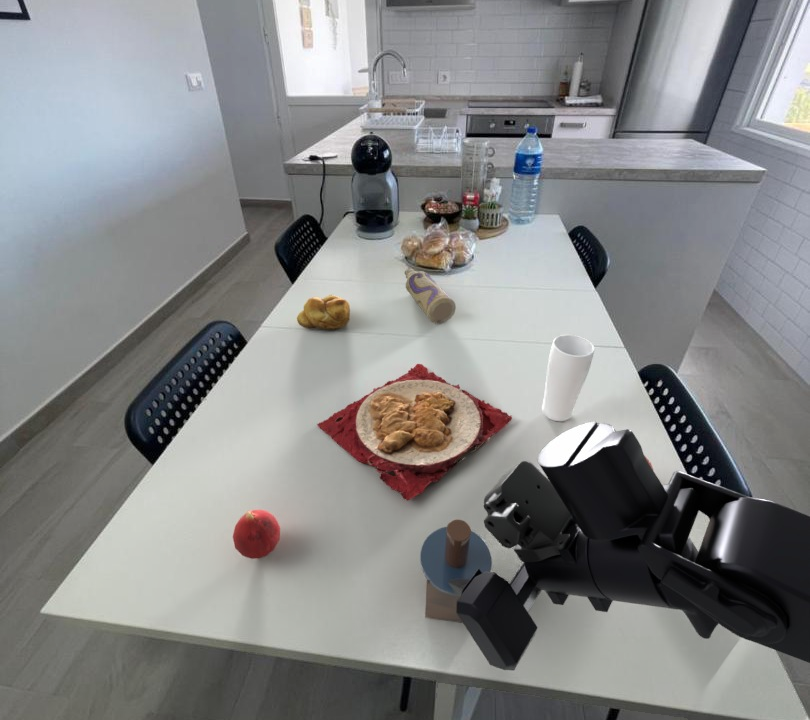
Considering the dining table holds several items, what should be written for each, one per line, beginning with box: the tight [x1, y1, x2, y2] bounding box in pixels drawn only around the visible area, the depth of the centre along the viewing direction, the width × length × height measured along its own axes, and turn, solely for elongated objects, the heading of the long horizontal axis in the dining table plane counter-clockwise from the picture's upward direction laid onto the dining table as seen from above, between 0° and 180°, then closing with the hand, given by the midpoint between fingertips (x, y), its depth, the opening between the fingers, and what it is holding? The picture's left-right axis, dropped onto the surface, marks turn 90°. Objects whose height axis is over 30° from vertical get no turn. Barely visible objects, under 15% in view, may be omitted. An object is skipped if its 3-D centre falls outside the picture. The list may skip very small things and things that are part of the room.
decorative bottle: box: [404, 267, 457, 324], centre depth 116 cm, size 26×8×7 cm, turn 18°
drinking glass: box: [541, 334, 596, 422], centre depth 78 cm, size 7×7×15 cm
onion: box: [232, 509, 281, 560], centre depth 58 cm, size 6×6×8 cm
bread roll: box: [296, 294, 351, 331], centre depth 106 cm, size 13×10×8 cm
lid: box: [419, 519, 493, 595], centre depth 49 cm, size 8×8×6 cm
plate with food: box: [316, 363, 513, 501], centre depth 79 cm, size 24×26×4 cm
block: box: [424, 579, 463, 624], centre depth 53 cm, size 6×6×8 cm
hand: (477, 551), depth 47 cm, fingers open, 9 cm apart
